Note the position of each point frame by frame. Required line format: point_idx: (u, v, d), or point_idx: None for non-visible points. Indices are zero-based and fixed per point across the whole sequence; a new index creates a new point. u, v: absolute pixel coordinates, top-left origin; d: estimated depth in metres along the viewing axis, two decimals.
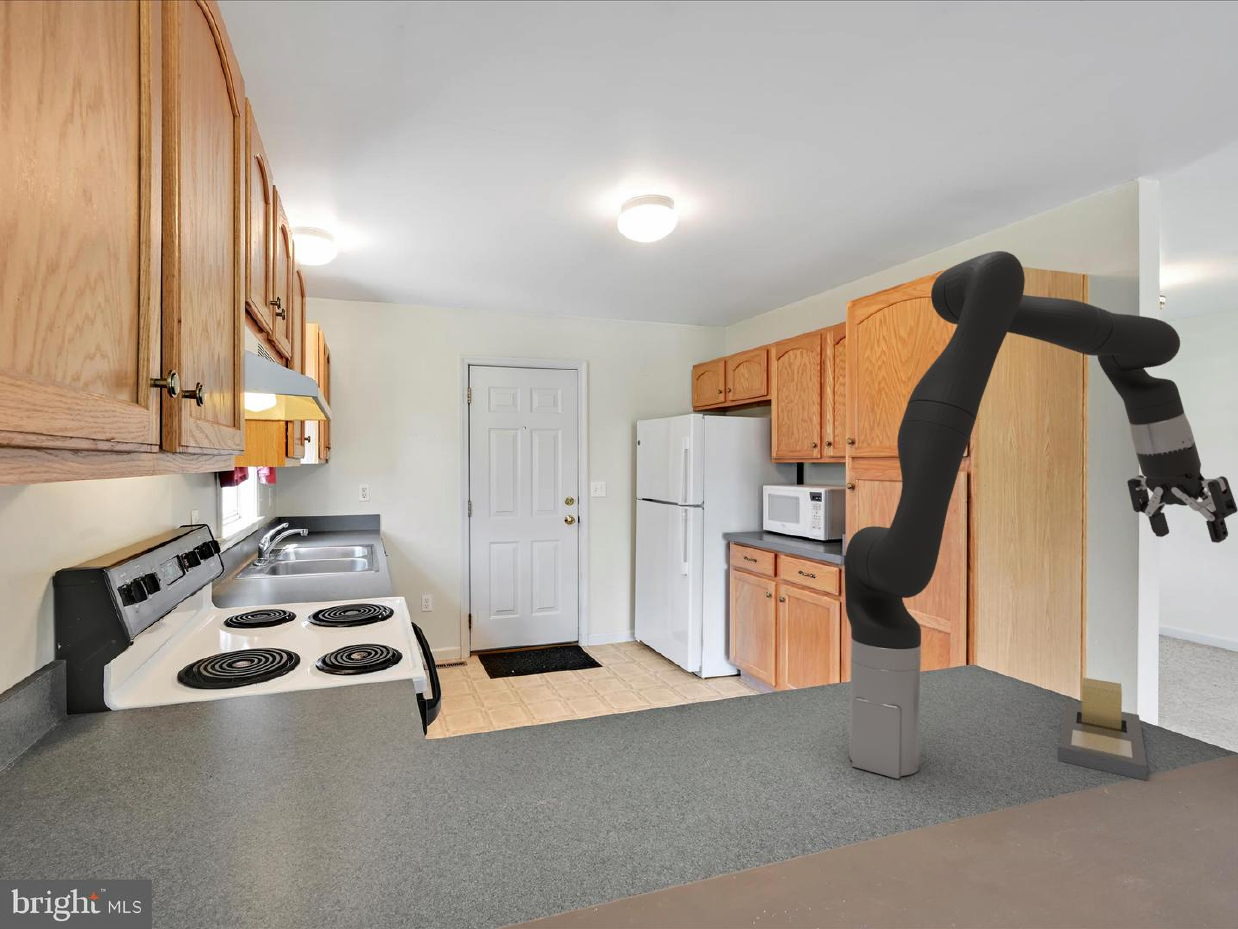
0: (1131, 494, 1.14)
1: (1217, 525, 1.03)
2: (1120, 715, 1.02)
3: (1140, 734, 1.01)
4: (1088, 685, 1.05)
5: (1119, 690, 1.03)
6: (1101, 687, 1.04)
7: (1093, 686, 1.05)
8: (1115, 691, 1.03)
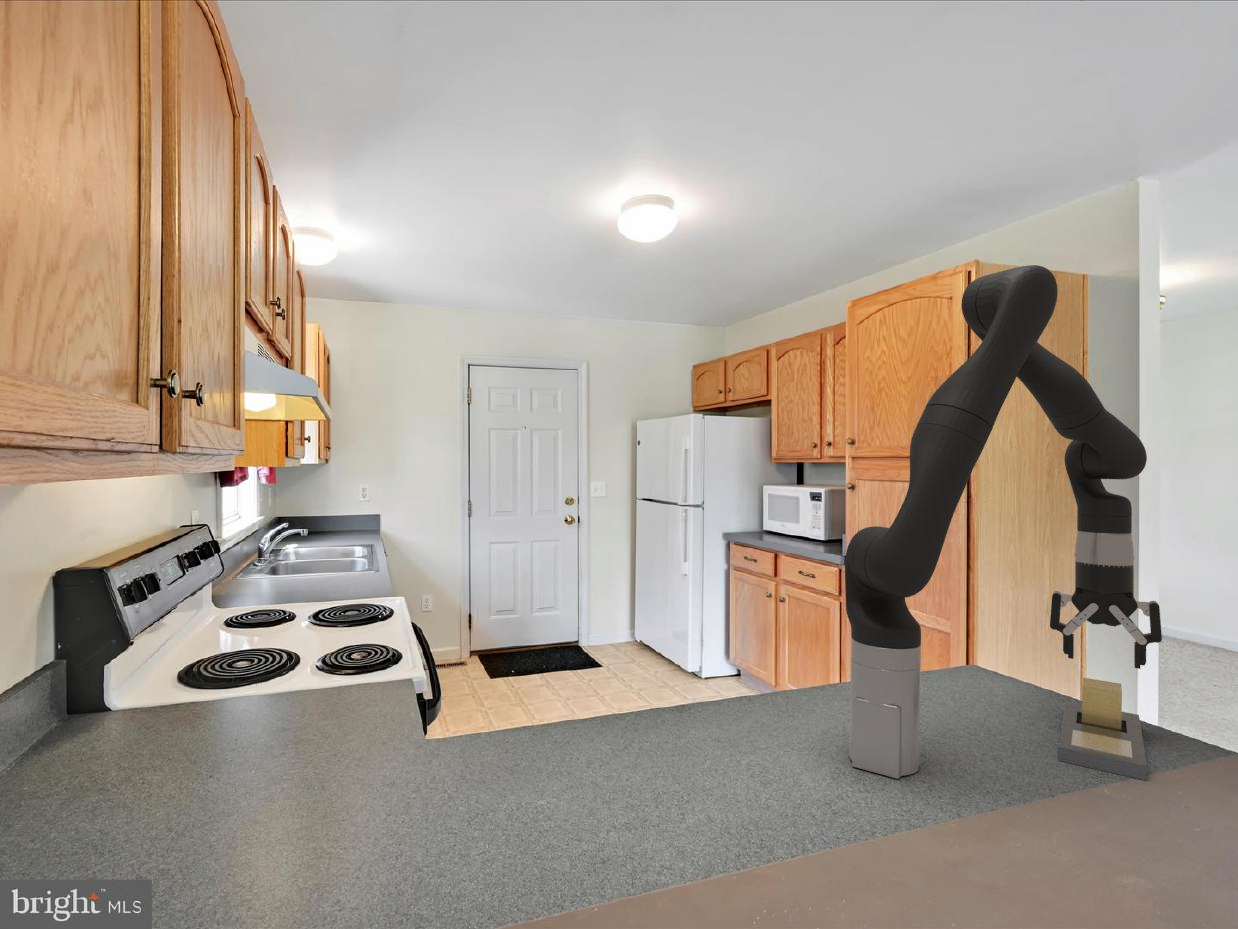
0: (1052, 609, 1.09)
1: (1144, 649, 1.02)
2: (1120, 715, 1.02)
3: (1140, 734, 1.01)
4: (1088, 685, 1.05)
5: (1119, 690, 1.03)
6: (1101, 687, 1.04)
7: (1093, 686, 1.05)
8: (1115, 691, 1.03)
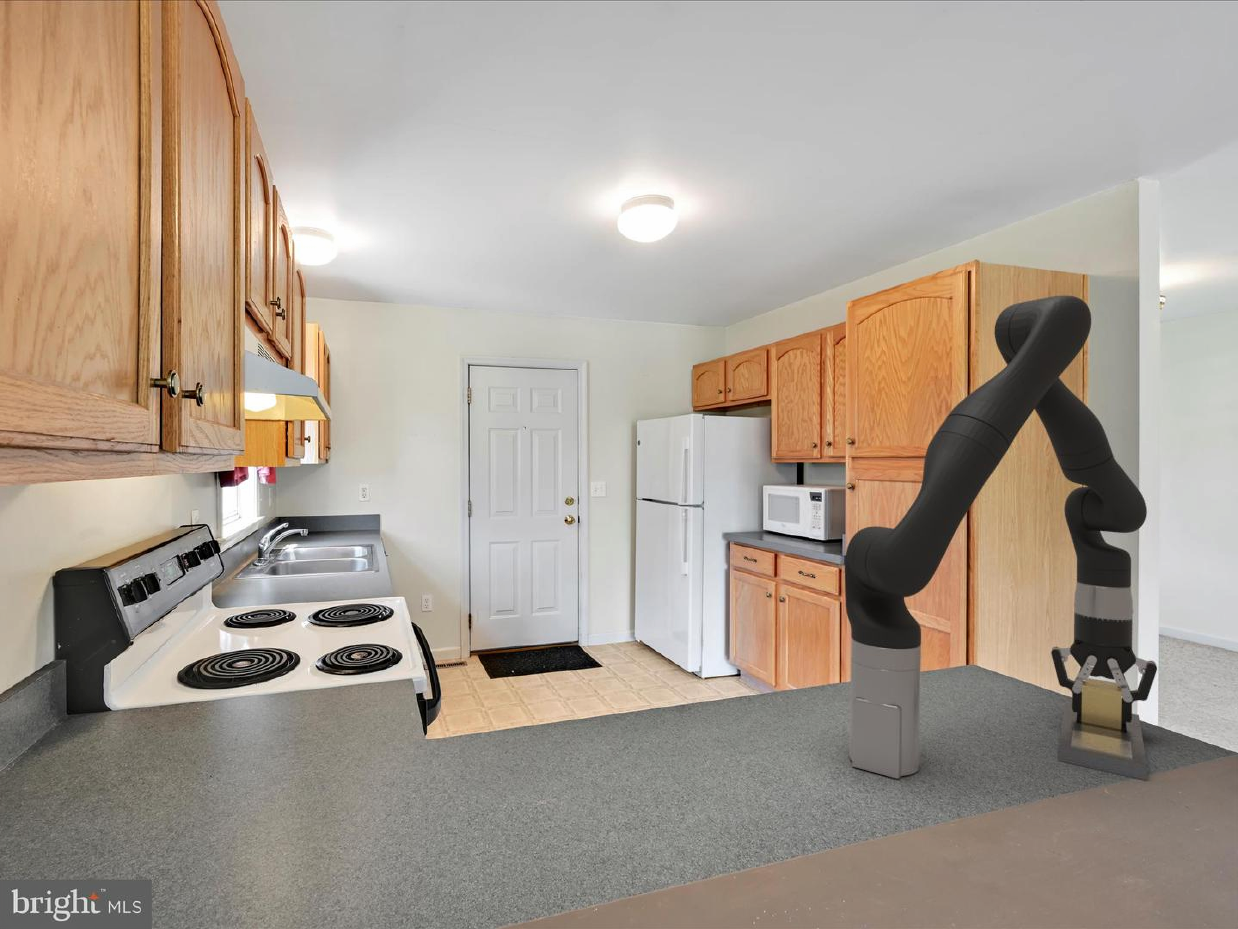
0: (1056, 666, 1.08)
1: (1130, 707, 1.03)
2: (1120, 715, 1.02)
3: (1140, 734, 1.01)
4: (1088, 685, 1.05)
5: (1119, 690, 1.03)
6: (1101, 687, 1.04)
7: (1093, 686, 1.05)
8: (1115, 691, 1.03)
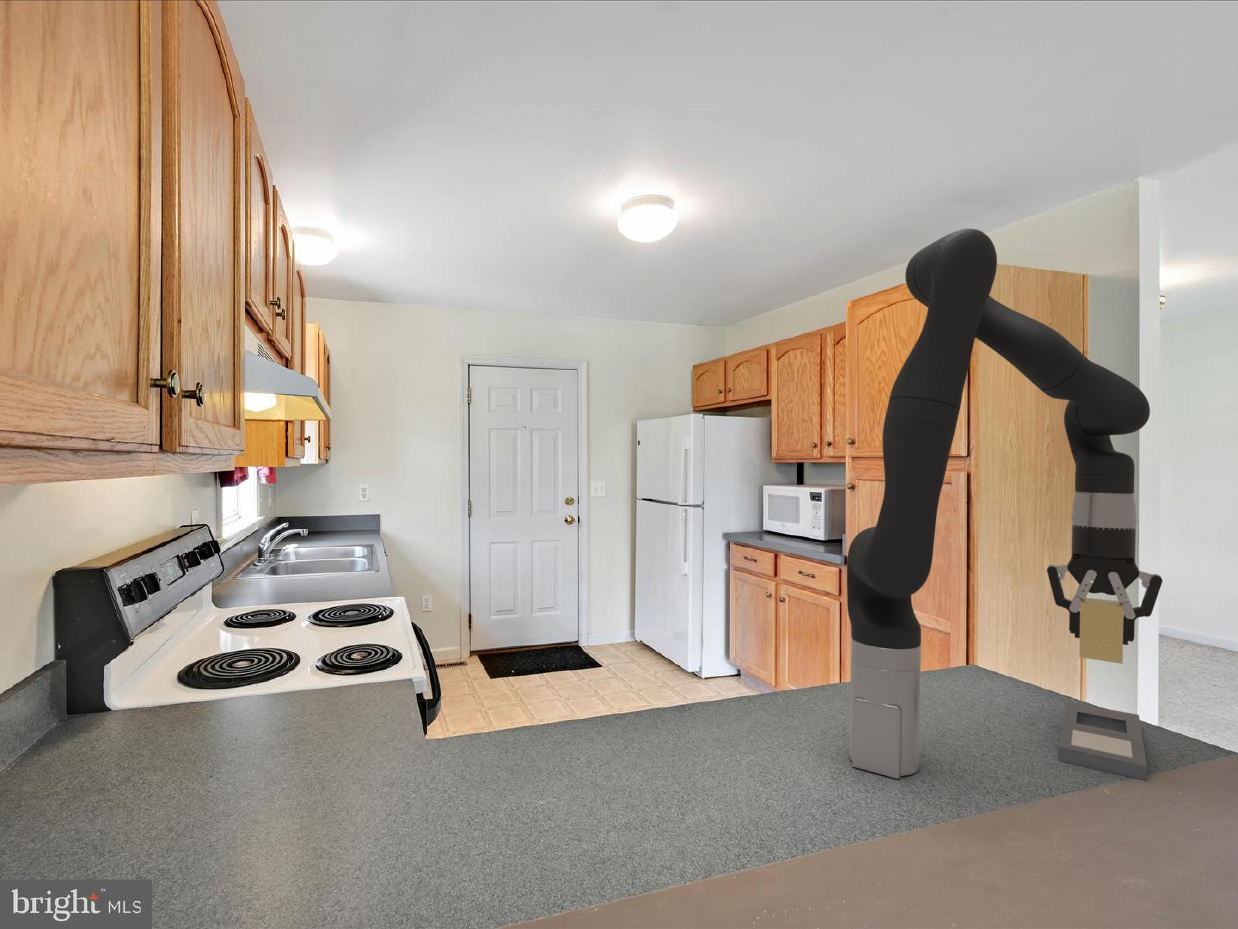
0: (1052, 584, 1.00)
1: (1133, 624, 0.94)
2: (1121, 632, 0.94)
3: (1140, 734, 1.01)
4: (1087, 602, 0.96)
5: (1120, 605, 0.94)
6: (1101, 603, 0.96)
7: (1092, 603, 0.96)
8: (1116, 606, 0.94)
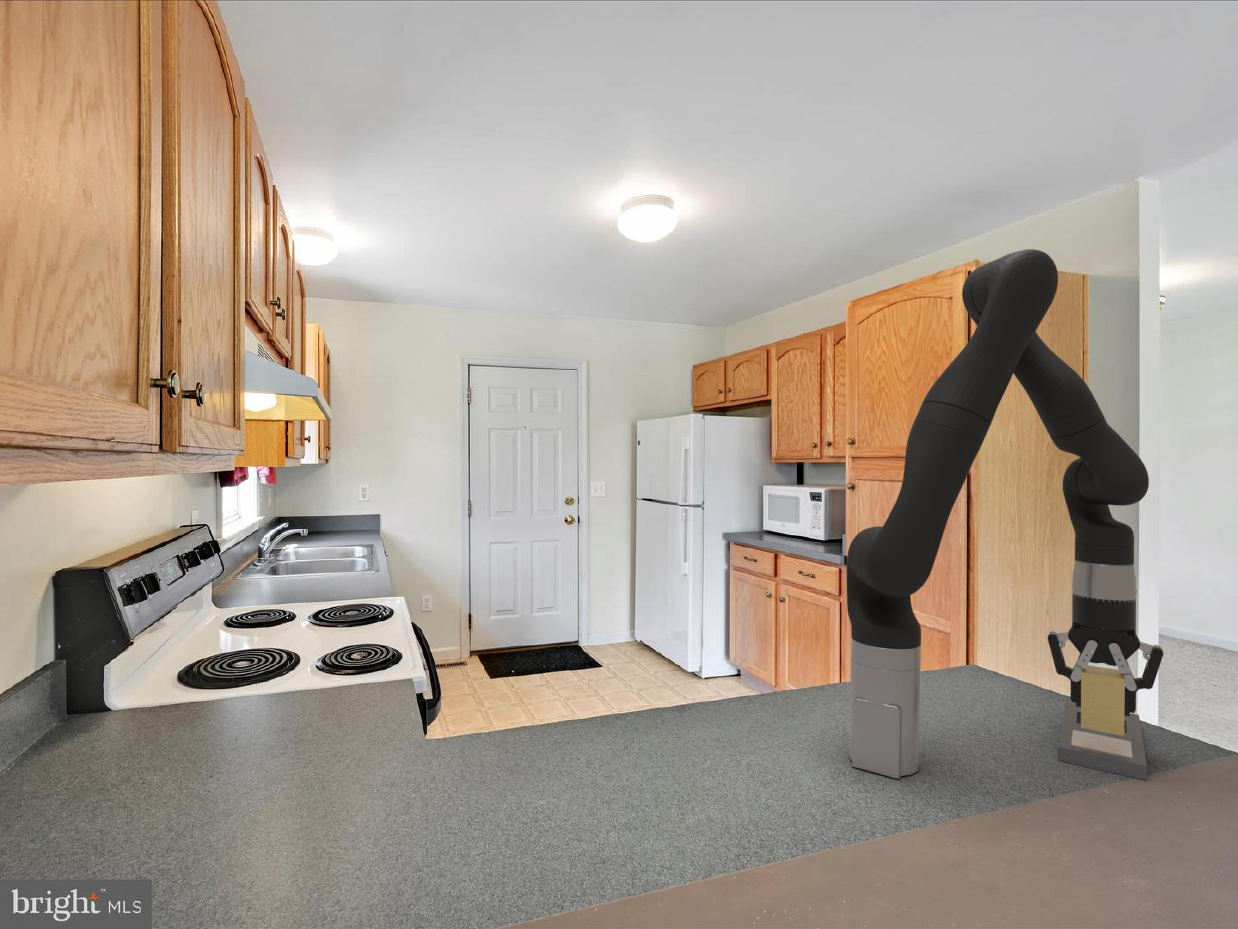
0: (1053, 653, 0.99)
1: (1134, 696, 0.94)
2: (1123, 704, 0.93)
3: (1140, 734, 1.01)
4: (1088, 672, 0.96)
5: (1122, 677, 0.94)
6: (1102, 674, 0.95)
7: (1093, 673, 0.96)
8: (1117, 678, 0.94)
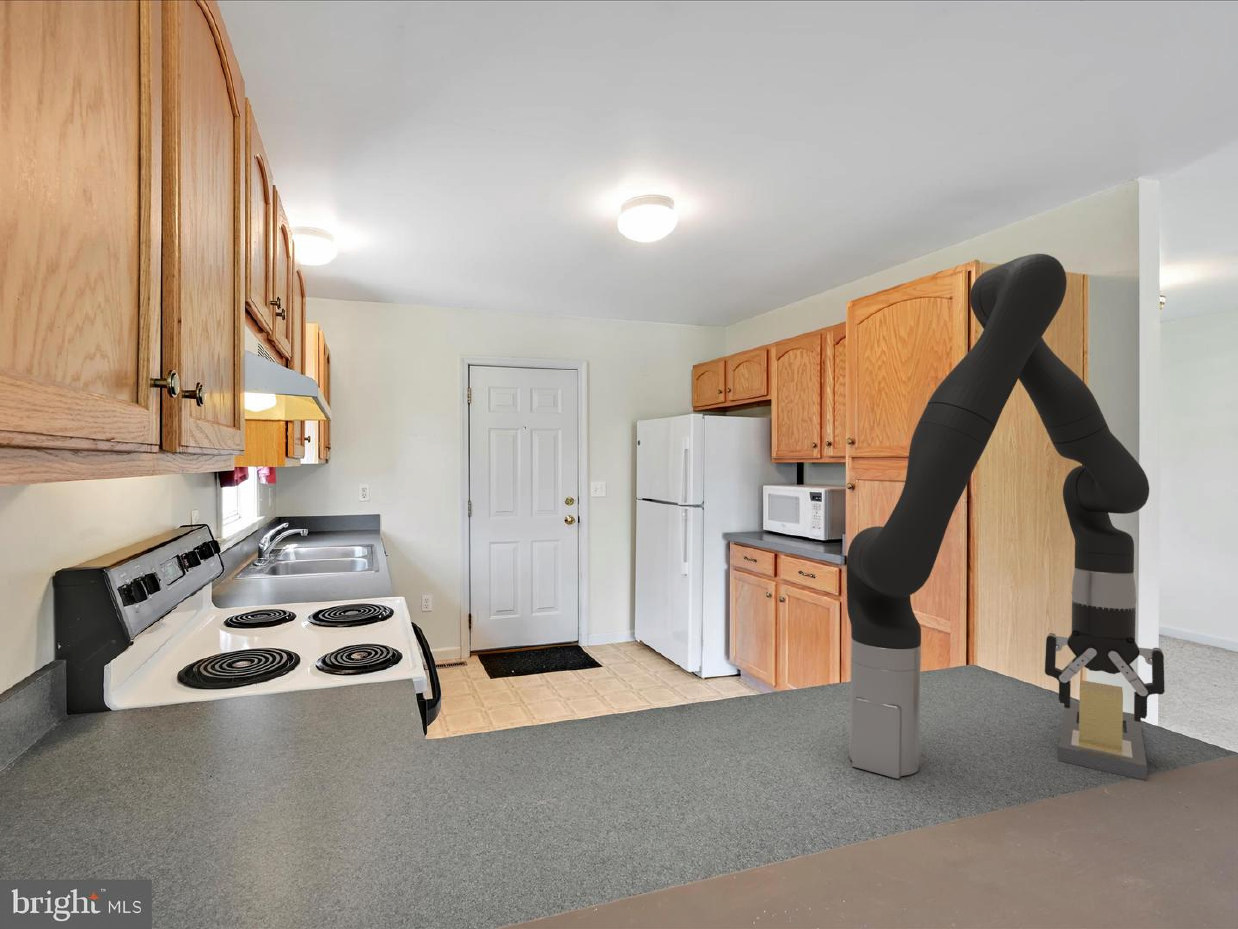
0: (1047, 653, 1.00)
1: (1145, 701, 0.93)
2: (1121, 721, 0.93)
3: (1140, 734, 1.01)
4: (1086, 688, 0.96)
5: (1120, 694, 0.94)
6: (1100, 691, 0.95)
7: (1091, 690, 0.96)
8: (1115, 695, 0.94)
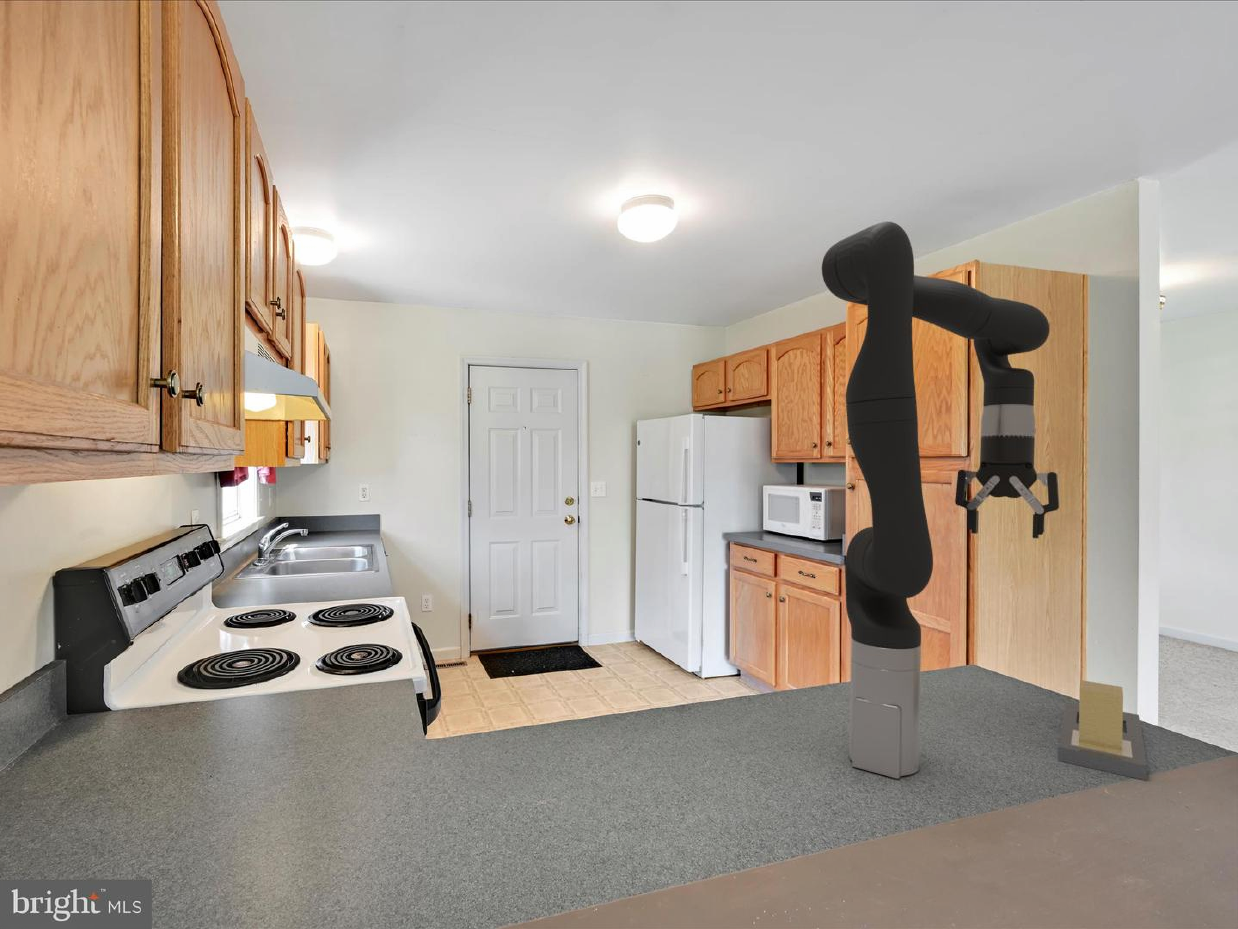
0: (958, 485, 1.10)
1: (1042, 519, 1.03)
2: (1121, 721, 0.93)
3: (1140, 734, 1.01)
4: (1086, 688, 0.96)
5: (1120, 694, 0.94)
6: (1100, 691, 0.95)
7: (1091, 690, 0.96)
8: (1115, 695, 0.94)
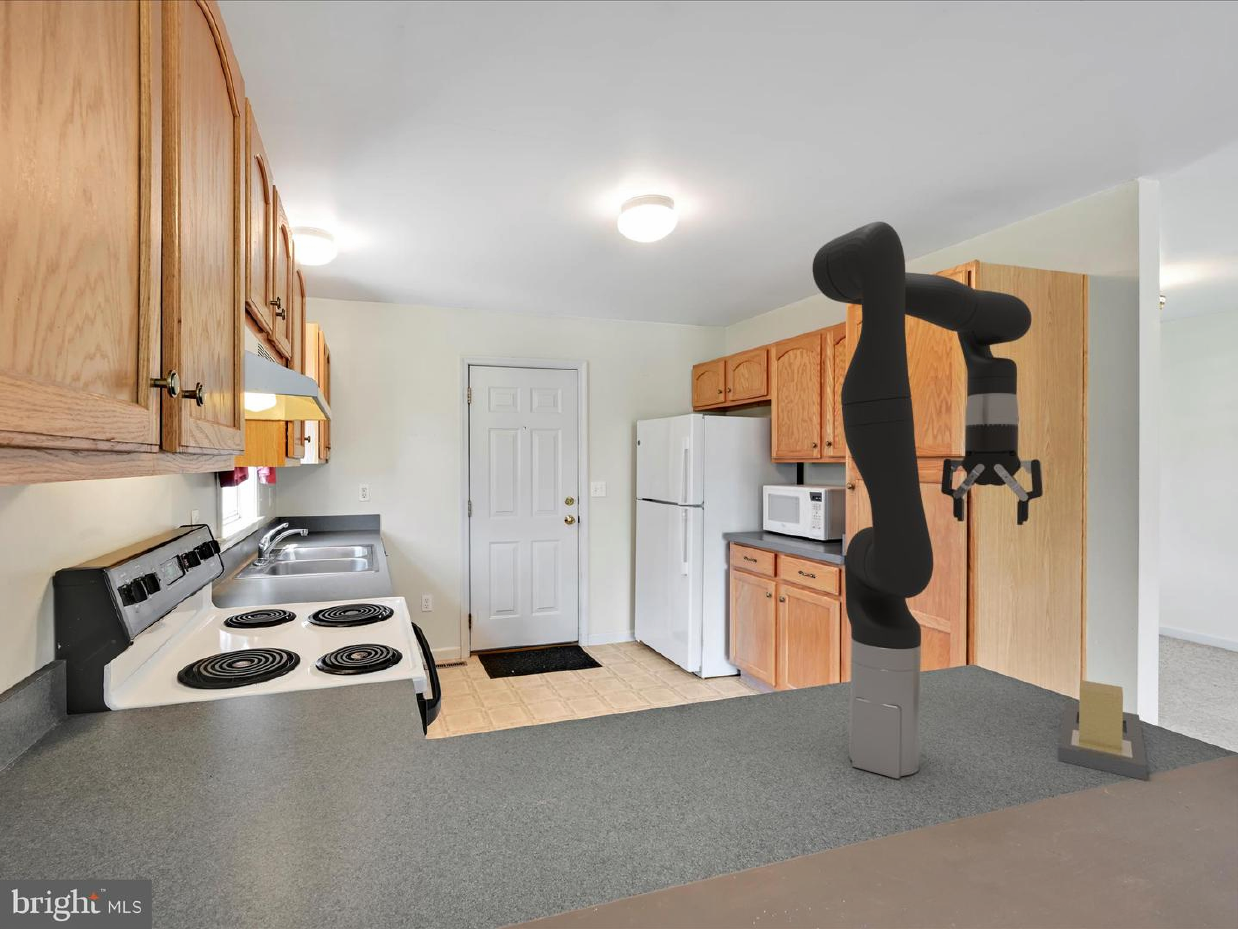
0: (944, 474, 1.11)
1: (1026, 506, 1.05)
2: (1121, 721, 0.93)
3: (1140, 734, 1.01)
4: (1086, 688, 0.96)
5: (1120, 694, 0.94)
6: (1100, 691, 0.95)
7: (1091, 690, 0.96)
8: (1115, 695, 0.94)
